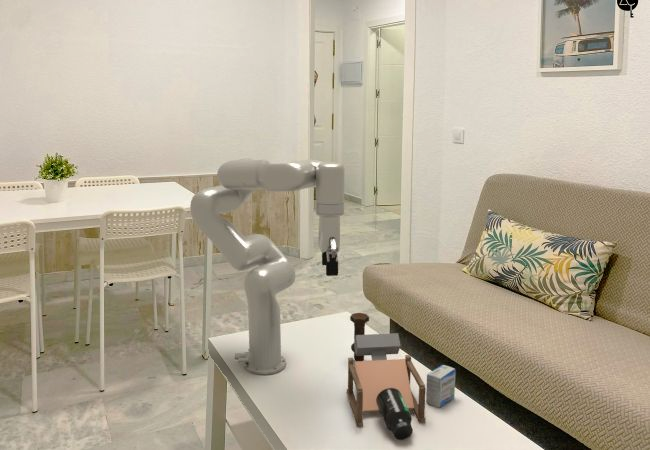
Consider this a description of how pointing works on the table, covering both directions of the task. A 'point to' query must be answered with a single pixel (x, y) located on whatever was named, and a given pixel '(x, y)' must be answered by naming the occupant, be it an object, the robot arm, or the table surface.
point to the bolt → (358, 329)
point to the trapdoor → (381, 369)
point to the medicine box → (440, 385)
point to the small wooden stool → (358, 405)
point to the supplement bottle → (395, 413)
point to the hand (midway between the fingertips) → (329, 270)
